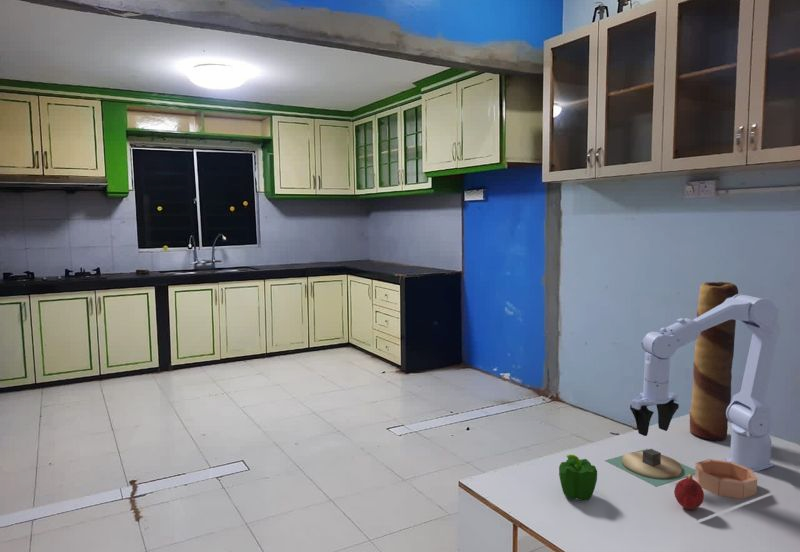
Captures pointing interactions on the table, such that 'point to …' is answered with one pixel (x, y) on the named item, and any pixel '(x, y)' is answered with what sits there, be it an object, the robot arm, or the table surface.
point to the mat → (654, 481)
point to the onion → (689, 493)
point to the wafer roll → (713, 366)
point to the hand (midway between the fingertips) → (653, 431)
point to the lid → (652, 464)
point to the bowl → (726, 478)
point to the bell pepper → (577, 478)
